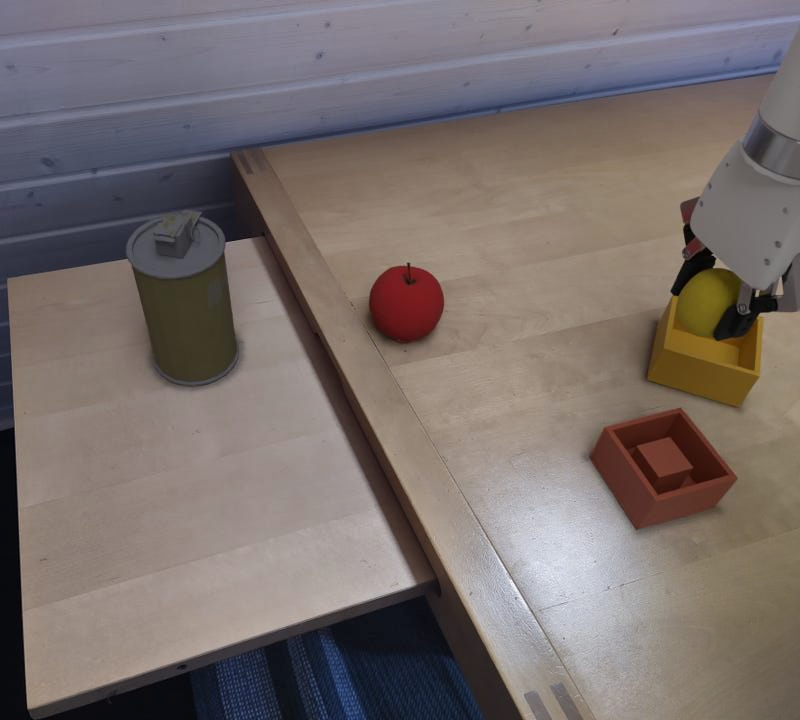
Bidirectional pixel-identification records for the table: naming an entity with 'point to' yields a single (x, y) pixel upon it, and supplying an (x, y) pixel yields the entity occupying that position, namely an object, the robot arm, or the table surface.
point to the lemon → (707, 300)
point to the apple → (406, 303)
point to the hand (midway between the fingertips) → (706, 311)
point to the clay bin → (632, 485)
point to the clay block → (662, 464)
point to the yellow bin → (705, 360)
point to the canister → (185, 296)
